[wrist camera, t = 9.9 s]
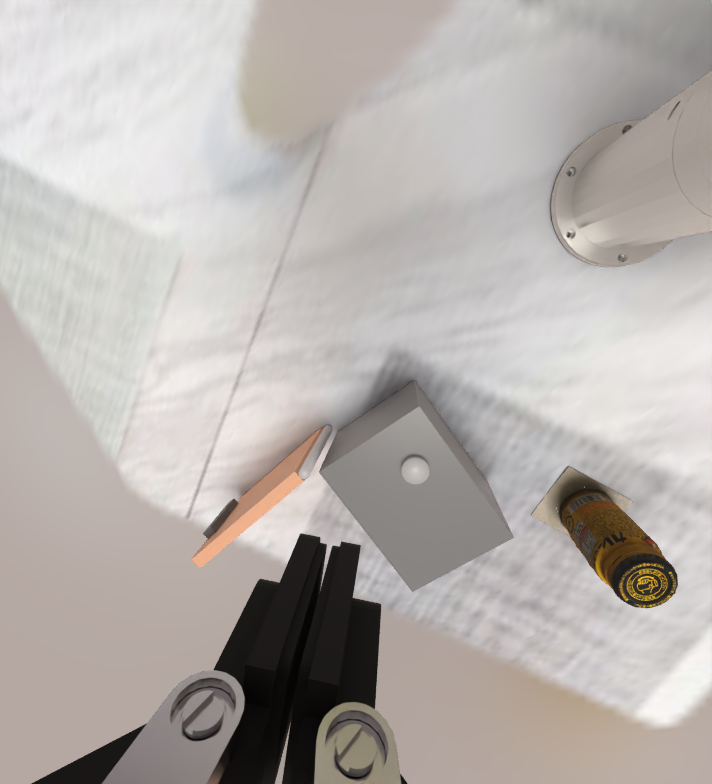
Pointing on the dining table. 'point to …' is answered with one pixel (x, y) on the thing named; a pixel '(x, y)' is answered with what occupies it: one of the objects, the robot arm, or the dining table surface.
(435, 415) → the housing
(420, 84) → the dining table surface
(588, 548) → the condiment
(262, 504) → the door
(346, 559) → the robot arm
